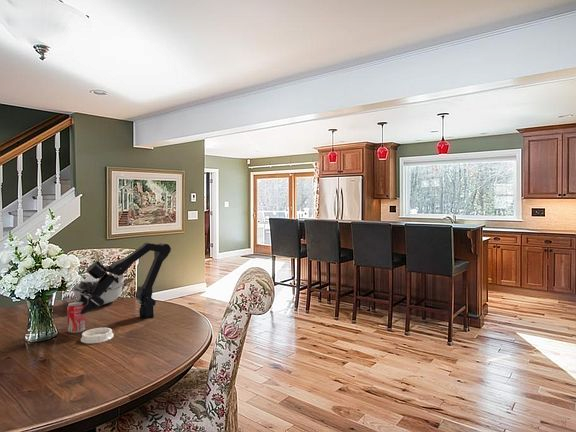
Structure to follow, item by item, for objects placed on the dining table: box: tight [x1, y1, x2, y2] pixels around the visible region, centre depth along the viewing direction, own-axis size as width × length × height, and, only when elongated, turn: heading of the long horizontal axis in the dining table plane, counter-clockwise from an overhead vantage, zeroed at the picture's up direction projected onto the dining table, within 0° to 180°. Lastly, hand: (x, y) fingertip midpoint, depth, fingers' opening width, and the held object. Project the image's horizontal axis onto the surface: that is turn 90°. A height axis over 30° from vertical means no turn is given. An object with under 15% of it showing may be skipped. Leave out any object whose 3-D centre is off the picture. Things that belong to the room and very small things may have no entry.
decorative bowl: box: [71, 273, 125, 305], centre depth 234 cm, size 30×30×15 cm
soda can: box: [66, 301, 86, 334], centre depth 186 cm, size 7×7×13 cm
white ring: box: [80, 327, 114, 345], centre depth 176 cm, size 13×13×3 cm
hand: (78, 311), depth 186 cm, fingers open, 9 cm apart
